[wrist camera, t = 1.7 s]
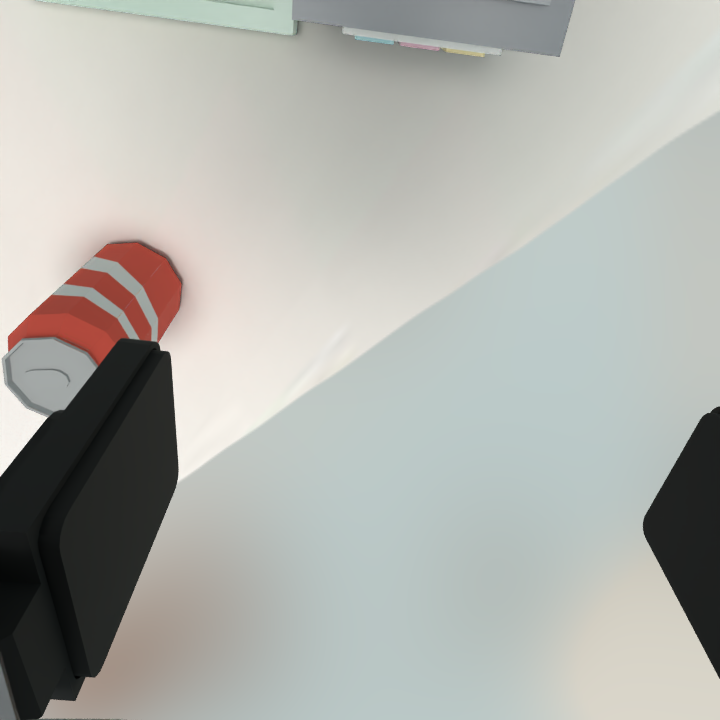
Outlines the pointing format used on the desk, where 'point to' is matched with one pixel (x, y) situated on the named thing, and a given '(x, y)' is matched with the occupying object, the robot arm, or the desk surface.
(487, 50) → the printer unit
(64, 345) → the beverage can
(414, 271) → the desk surface
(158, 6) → the tray
